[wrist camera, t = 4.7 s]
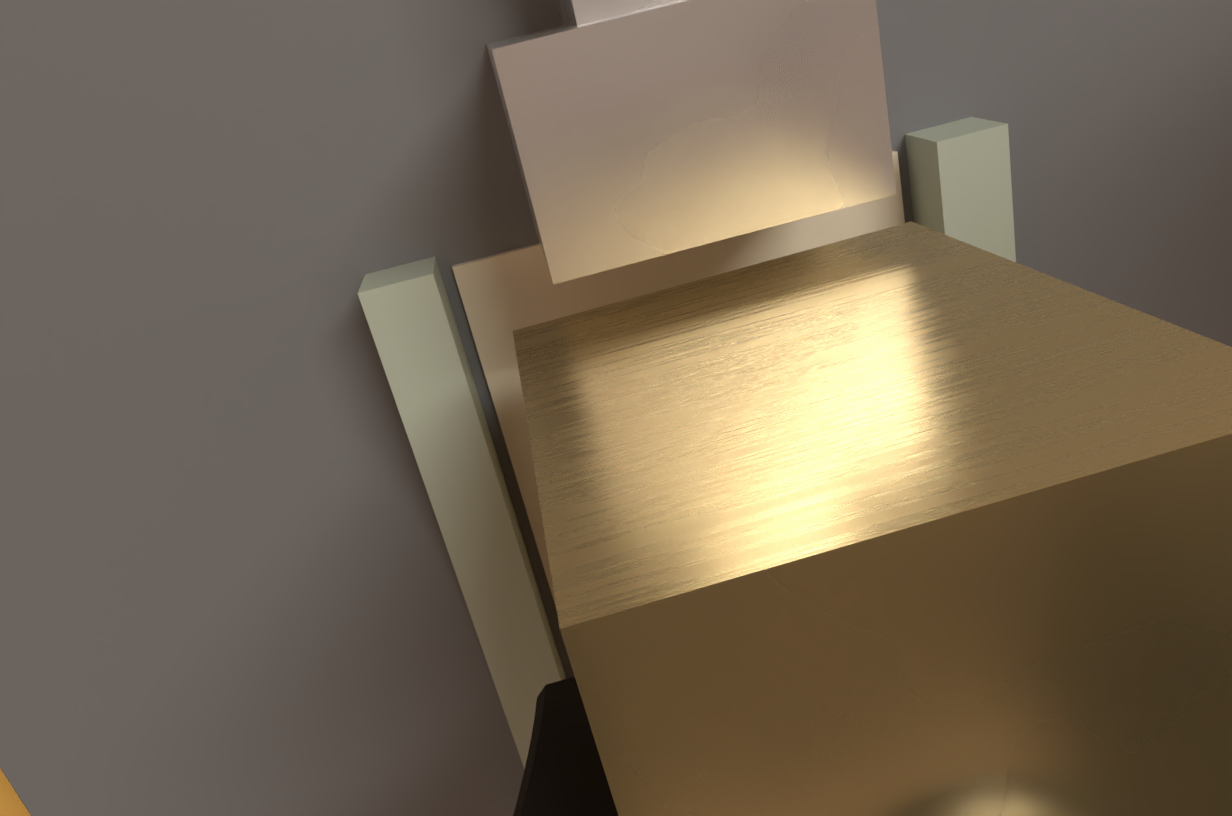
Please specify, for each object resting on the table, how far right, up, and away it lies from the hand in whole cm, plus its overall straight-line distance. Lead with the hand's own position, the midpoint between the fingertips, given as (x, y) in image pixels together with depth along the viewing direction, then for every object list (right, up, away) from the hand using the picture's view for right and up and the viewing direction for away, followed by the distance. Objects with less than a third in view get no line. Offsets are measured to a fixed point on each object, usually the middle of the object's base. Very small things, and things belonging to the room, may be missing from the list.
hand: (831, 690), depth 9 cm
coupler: (0, +1, +1) cm, 2 cm away
